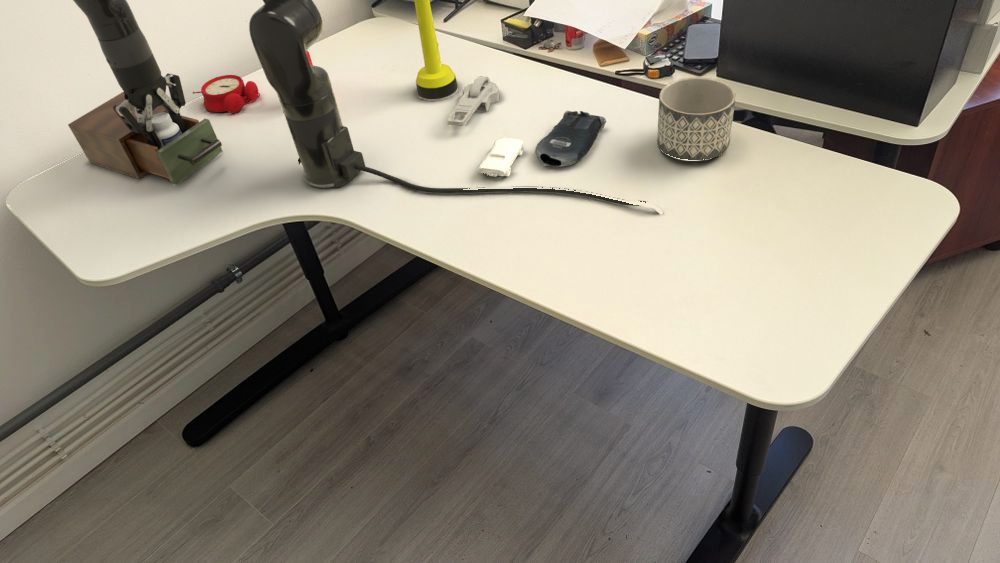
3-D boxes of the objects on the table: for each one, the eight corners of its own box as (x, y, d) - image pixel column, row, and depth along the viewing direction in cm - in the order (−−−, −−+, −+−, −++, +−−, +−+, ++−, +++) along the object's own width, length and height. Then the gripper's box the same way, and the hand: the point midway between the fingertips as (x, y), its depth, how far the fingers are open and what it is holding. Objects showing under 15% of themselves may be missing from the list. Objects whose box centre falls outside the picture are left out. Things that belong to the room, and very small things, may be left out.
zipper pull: (438, 133, 144) (435, 114, 141) (470, 88, 156) (467, 70, 153) (475, 137, 141) (472, 118, 138) (505, 91, 153) (503, 72, 150)
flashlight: (425, -17, 135) (448, -35, 141) (385, -20, 138) (408, -37, 144) (445, 103, 152) (465, 83, 158) (409, 98, 155) (429, 78, 161)
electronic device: (559, 129, 143) (526, 161, 132) (563, 103, 139) (530, 134, 129) (603, 143, 140) (573, 177, 129) (608, 117, 136) (578, 149, 126)
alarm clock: (218, 71, 166) (260, 66, 158) (232, 96, 170) (274, 93, 161) (185, 93, 160) (226, 89, 152) (200, 118, 163) (241, 116, 155)
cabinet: (191, 143, 151) (173, 104, 145) (139, 179, 143) (118, 139, 137) (142, 129, 157) (122, 91, 151) (90, 163, 149) (67, 124, 143)
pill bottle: (196, 149, 145) (178, 110, 139) (183, 164, 141) (164, 125, 135) (172, 149, 146) (153, 110, 140) (159, 164, 142) (139, 124, 136)
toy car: (527, 147, 137) (525, 131, 135) (505, 183, 129) (503, 168, 127) (500, 143, 139) (498, 128, 136) (477, 179, 131) (474, 164, 128)
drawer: (239, 155, 144) (226, 123, 139) (193, 190, 136) (177, 158, 131) (174, 137, 152) (159, 106, 147) (126, 169, 144) (109, 137, 139)
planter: (722, 171, 125) (729, 118, 118) (649, 161, 129) (651, 110, 122) (733, 132, 133) (740, 80, 126) (665, 124, 138) (668, 74, 130)
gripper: (110, 78, 123) (153, 161, 135) (174, 41, 132) (209, 123, 143) (82, 71, 126) (126, 153, 138) (147, 36, 135) (183, 116, 146)
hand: (168, 137), depth 140 cm, fingers closed on pill bottle, 5 cm apart
